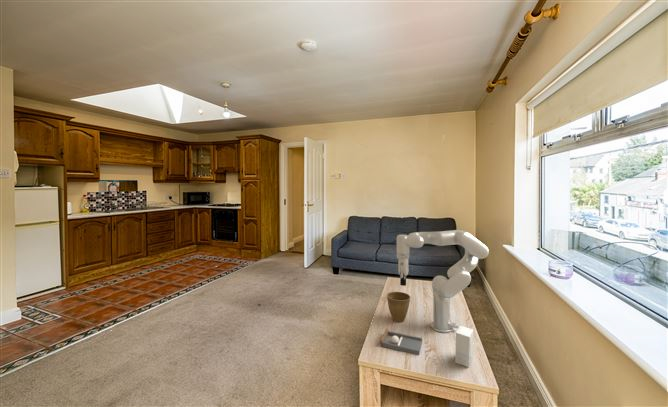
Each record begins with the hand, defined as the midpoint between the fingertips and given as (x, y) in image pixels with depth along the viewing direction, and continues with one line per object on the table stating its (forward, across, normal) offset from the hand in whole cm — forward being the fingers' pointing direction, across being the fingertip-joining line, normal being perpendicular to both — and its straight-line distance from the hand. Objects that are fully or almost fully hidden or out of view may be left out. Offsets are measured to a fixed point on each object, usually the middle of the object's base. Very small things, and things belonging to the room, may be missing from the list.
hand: (403, 285), depth 164 cm
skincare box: (+27, -22, -32) cm, 48 cm away
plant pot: (+27, +9, +4) cm, 29 cm away
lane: (+27, -18, -2) cm, 32 cm away
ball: (+25, -18, +2) cm, 31 cm away
